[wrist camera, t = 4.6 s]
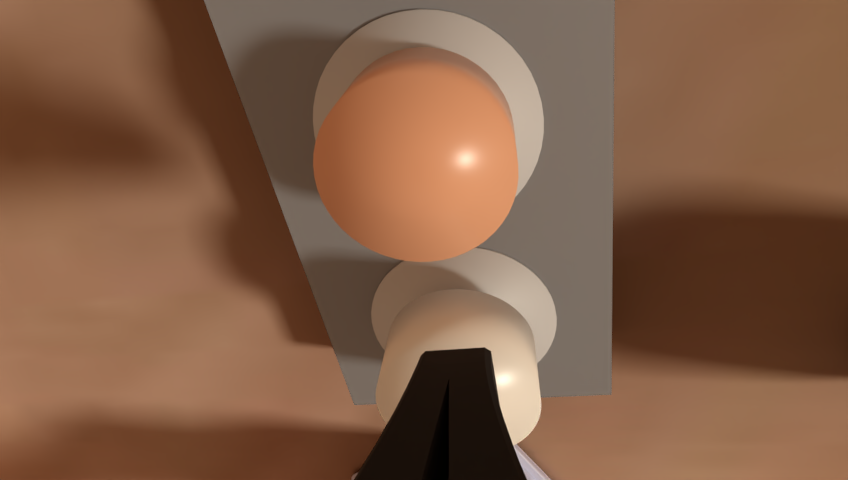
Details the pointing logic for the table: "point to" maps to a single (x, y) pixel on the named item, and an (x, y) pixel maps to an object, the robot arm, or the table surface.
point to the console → (536, 151)
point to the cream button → (459, 329)
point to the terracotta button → (418, 156)
